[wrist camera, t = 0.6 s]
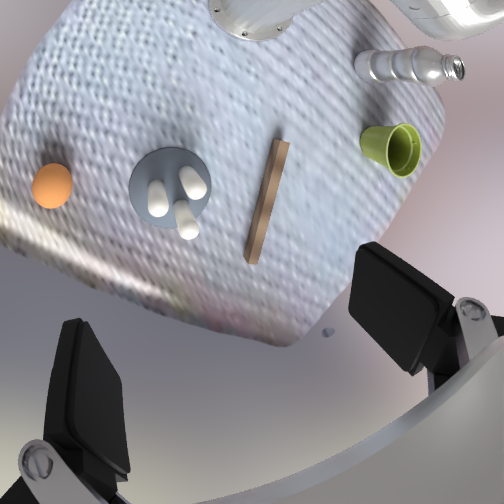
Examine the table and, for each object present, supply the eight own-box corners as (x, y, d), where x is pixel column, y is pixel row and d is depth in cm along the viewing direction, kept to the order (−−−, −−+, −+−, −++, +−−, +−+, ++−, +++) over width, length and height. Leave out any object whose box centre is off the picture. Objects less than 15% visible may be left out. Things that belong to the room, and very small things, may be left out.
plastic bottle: (346, 50, 36) (442, 41, 20) (374, 51, 38) (466, 49, 21) (352, 84, 40) (449, 90, 23) (379, 83, 41) (472, 92, 24)
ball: (42, 159, 30) (26, 167, 25) (78, 160, 32) (67, 168, 27) (40, 199, 32) (26, 213, 27) (75, 201, 34) (65, 216, 29)
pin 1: (179, 164, 38) (187, 177, 30) (196, 166, 39) (208, 180, 31) (177, 180, 39) (184, 198, 31) (193, 182, 40) (204, 200, 32)
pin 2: (174, 198, 40) (180, 219, 32) (190, 199, 41) (200, 221, 33) (171, 213, 41) (177, 238, 33) (187, 215, 41) (197, 240, 34)
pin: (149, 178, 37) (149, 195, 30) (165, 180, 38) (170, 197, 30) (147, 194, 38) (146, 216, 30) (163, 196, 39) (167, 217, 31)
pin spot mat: (135, 143, 34) (135, 143, 34) (218, 154, 39) (218, 154, 39) (125, 224, 39) (125, 225, 39) (202, 230, 43) (203, 231, 43)
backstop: (273, 138, 40) (280, 140, 38) (282, 140, 41) (290, 142, 39) (243, 256, 48) (248, 263, 46) (252, 257, 49) (257, 264, 47)
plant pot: (359, 110, 42) (394, 114, 35) (392, 127, 46) (426, 134, 39) (346, 158, 46) (380, 170, 39) (381, 170, 50) (413, 183, 43)
